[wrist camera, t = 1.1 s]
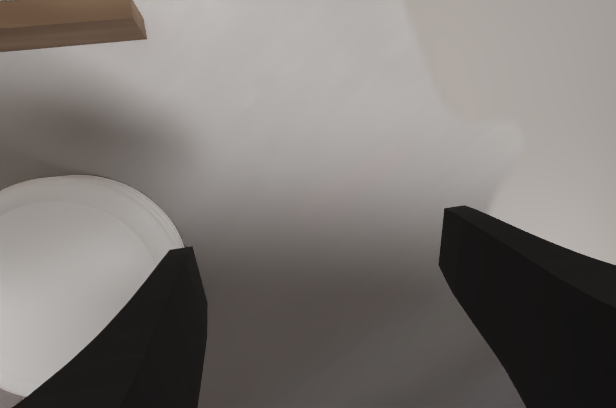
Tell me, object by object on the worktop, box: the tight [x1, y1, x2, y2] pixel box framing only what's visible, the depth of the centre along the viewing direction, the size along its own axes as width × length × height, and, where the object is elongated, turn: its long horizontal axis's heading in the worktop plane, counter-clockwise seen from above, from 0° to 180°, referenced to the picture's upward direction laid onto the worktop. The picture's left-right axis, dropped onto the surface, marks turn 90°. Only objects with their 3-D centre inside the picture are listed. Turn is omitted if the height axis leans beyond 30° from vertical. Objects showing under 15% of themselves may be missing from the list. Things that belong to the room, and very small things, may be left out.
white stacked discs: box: [0, 175, 184, 397], centre depth 19 cm, size 10×10×4 cm
